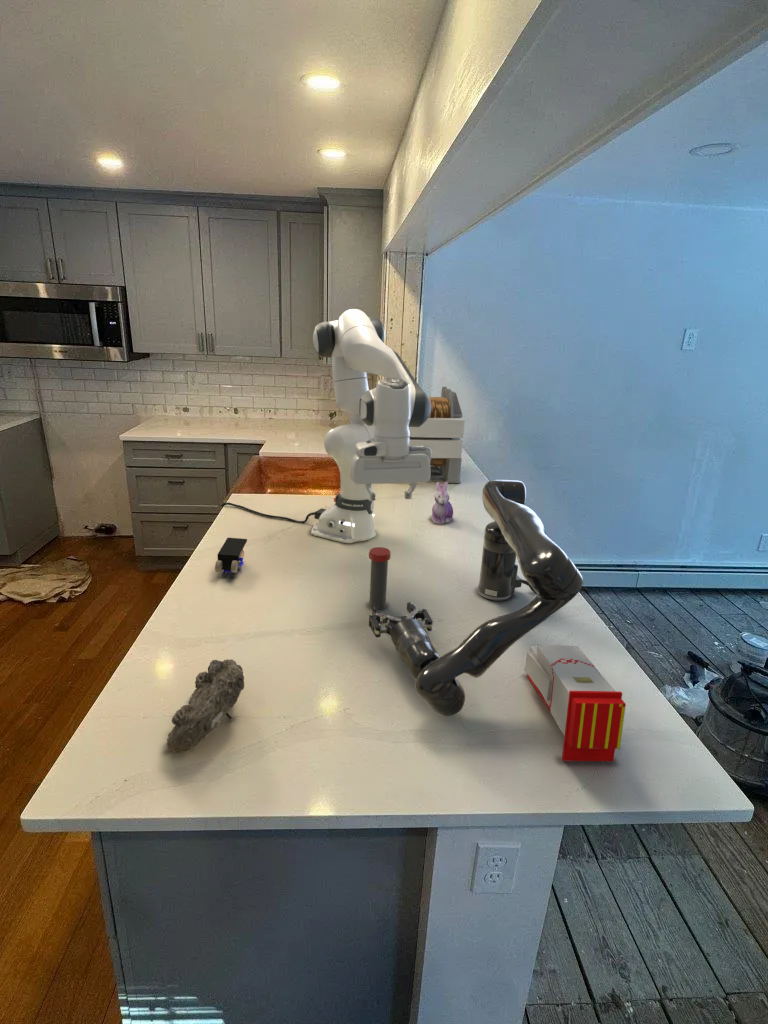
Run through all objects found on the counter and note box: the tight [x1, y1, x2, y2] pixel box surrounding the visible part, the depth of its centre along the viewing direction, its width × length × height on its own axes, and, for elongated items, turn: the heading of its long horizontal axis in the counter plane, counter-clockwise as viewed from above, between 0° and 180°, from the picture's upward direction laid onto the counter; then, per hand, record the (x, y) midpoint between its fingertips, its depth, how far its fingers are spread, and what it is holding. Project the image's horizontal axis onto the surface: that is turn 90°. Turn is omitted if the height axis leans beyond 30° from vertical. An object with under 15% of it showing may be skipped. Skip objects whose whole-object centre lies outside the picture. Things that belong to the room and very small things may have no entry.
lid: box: [368, 546, 391, 562], centre depth 146 cm, size 6×6×2 cm
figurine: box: [430, 480, 454, 525], centre depth 212 cm, size 9×10×15 cm
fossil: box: [166, 658, 245, 754], centre depth 106 cm, size 22×10×15 cm
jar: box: [368, 559, 389, 610], centre depth 149 cm, size 4×4×15 cm
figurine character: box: [214, 537, 248, 578], centre depth 166 cm, size 7×8×15 cm
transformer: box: [409, 386, 465, 484], centre depth 268 cm, size 34×33×41 cm
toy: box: [524, 644, 626, 762], centre depth 112 cm, size 12×13×30 cm
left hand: (389, 499), depth 145 cm, fingers open, 8 cm apart
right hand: (391, 607), depth 138 cm, fingers open, 8 cm apart
